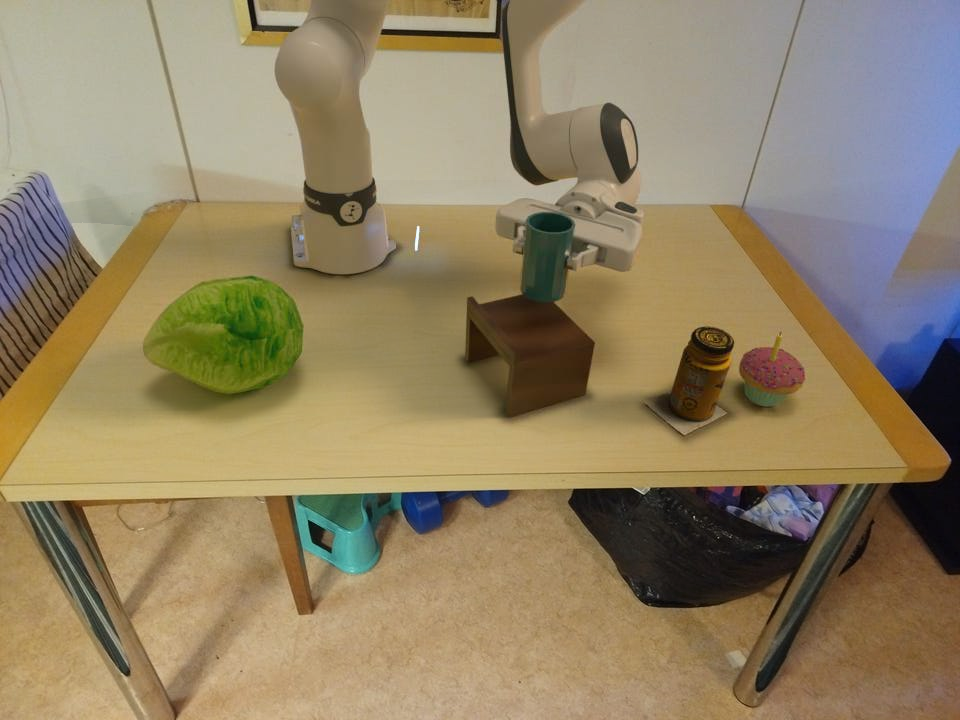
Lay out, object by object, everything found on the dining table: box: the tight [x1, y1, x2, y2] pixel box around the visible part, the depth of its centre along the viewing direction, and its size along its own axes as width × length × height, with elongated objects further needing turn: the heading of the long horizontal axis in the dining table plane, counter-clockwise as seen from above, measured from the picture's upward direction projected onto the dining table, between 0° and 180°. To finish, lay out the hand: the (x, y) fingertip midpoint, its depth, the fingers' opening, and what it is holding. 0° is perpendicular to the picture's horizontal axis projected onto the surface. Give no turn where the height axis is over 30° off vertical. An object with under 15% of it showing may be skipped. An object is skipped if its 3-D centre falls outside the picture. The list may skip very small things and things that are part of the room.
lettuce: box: [142, 275, 304, 395], centre depth 86 cm, size 17×20×15 cm
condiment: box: [644, 325, 735, 436], centre depth 86 cm, size 7×8×12 cm
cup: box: [519, 212, 576, 303], centre depth 86 cm, size 6×6×10 cm
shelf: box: [464, 293, 596, 418], centre depth 91 cm, size 14×12×11 cm
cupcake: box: [738, 330, 806, 408], centre depth 89 cm, size 9×8×12 cm
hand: (544, 257), depth 85 cm, fingers closed on cup, 6 cm apart
